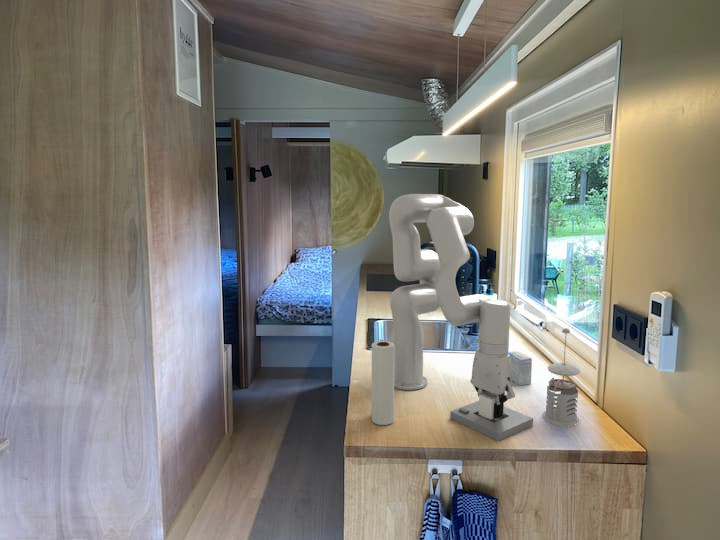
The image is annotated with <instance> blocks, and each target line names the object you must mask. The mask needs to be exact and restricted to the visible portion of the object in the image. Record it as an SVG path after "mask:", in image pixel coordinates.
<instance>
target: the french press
mask: <svg viewBox="0 0 720 540" xmlns="http://www.w3.org/2000/svg"><path fill="white" fill-rule="evenodd" d="M561 332H562V333H563V334H565V337H564V338H565V339H564V349H566V345H567V334H570V332H571V331H570V329H569V328H568V327H566V328H565V327H564V328H562V331H561ZM563 354H564V355H563V362H555V363H552V364H549V365H548V366H547V370H548V371H549V373H551V374H554V375H557V376H562V378H555V377H554V376H553V377H552V378H551V379H550V380H549V381H548V385H547V388H546V400H545V401H546V405H545V411H544V412H542V413H541V417H542V419H543V420H544V421H545V422H548V423H549V424H552V425H556V426H561V427H574V426H573V425H575V424H577V423H579V421H581V419H580V418H579V416H577V412H578V409H577V408H578V405H577V404H578V400H577V399H579V390H578V384H577V383H576V382H574V381H572V380H569V379H568V380H567V379H564V377H571V376H572V377H574V376H578V375H579V374H580V373H581V370H580V368H578V367H576V366H575V365H573V364H570V363H567V362H565V361H566V350H564V353H563ZM557 392H560V393H557ZM579 419H580V420H579ZM579 424H580V423H579ZM575 426H576V425H575Z"/></svg>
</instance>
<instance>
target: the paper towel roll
mask: <svg viewBox="0 0 720 540" xmlns="http://www.w3.org/2000/svg"><path fill="white" fill-rule="evenodd" d="M394 380H395V345H394V343H393V341H388V340H385V339H380V338H379V341H374V342H372V343H371V421H372V423H374V424H376V425H377V426H387V425H391V424H393V423H394V421H395V388H394Z"/></svg>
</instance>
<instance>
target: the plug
mask: <svg viewBox="0 0 720 540" xmlns="http://www.w3.org/2000/svg"><path fill="white" fill-rule="evenodd" d="M500 398H501V395H500ZM478 399H479V400H478V401H479V415H481V416H483V417H486V418H488V419H490V420H491V419H494V417H493V416H494V404H495V403H496V401H495V394H493V393H491V392H488V391H483V392H481V393H479V397H478Z"/></svg>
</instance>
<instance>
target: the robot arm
mask: <svg viewBox="0 0 720 540" xmlns="http://www.w3.org/2000/svg"><path fill="white" fill-rule="evenodd" d="M388 218H389V219H388V221H389V227H390V231H391V235H392V236H391V237H392V255H393V257H392V261H393V274H394V276H395V278H396V279H397V280H398V281H401V282H415V281H419V283H417V284H409V285H403V286H399V287H396V289H395V290H393V291H392V293H391V294H390V298H389V304H390V305H389V306H390V309H391V310H390V311H391V315H392V316H391V317H392V334H393V335H392V343H394V345H395V380H394V387H395V388H394V389H397V388H398V390H402V391H403V390H405V391H406V390H407V391H412V390H420V389H423V388H425V387H426V386H427V385H428V379H427V377H425V376H424V371H423V369H424V368H423V367H424V327H423V324H422V323H421V321H420V319H419V317H418V316H419V315H424V314H428V313H429V314H430V313H434V312H436V311H438V310H439V309H440V310H441V312H442V315H443V316H444V319H445V320H446V321H447V322H448V323H449V324H450V325H452V326H454V327H455V326H456V327H460V326H466V325H471V324H475V323H476V324H477V323H479V325H478V327H479V328H478V329H479V331H478V338H477V339H476V344H478V348H477V349H476V350H475V353H474V357H473V363H472V367H471V368H472V370H471V379H470V380H469V382H470V384H471V385H472V386H473V387H474V390H475V391H476V392H477V393H476V394H477V397H478V398H479V393H481V392H483V391H488V392H491V393H493V394H495V401H496V403H495V404H494V416H493V417H494V418H495V419H496V418H499V417H501V416H503V407H505V406H504V404H505V403H506V402H507V401H508V400H510V399H514V398H515V397H516V393H515V391H514V389H513V381H512V365H511V358H510V355H509V354H508V352H509V345H510V326H511V325H510V324H511V322H510V321H511V319H510V318H511V306H510V303H509V302H507V301H506V300H502V299H494V298H492V297H490V296H488V295H486V294H481V293H476V294H467V295H463V296H462V295H461V296H460V294H459V292H458V289H457V285H456V284H457V283H456V277H457V274H458V271H459V269H460V268H461V267H462V266H464V264H466V263H467V262H468V261H469V260H470V257H471V253H470V251H469V248H468V246H467V243H466V240H465V237H464V236H467V235H469V234H470V233H471V232H472V231H473V229H474V226H475V220H474V215H473V214H472V212H471V211H470V210H469V208H468V207H465V206H464V205H462V204H461V203H459V202H456V201H454V200H453V199H451V198H450V197H447V196H445V195H443V194H438V193H437V194H435V193H410V194H403V195H400V196H398V197H397V198H395V199H394V201H393V202H392V203H391V205H390V208H389V214H388ZM415 223H426V227H427V228H428V233H429V235H430V238H431V240H432V244H433V246H434V250H435V251H434V250H432V249H428V248H427V249H426V248H425V249H423V248H421V236H420V233H419V230H418V229H417V227H416V226H415ZM500 395H501V398H500Z"/></svg>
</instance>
